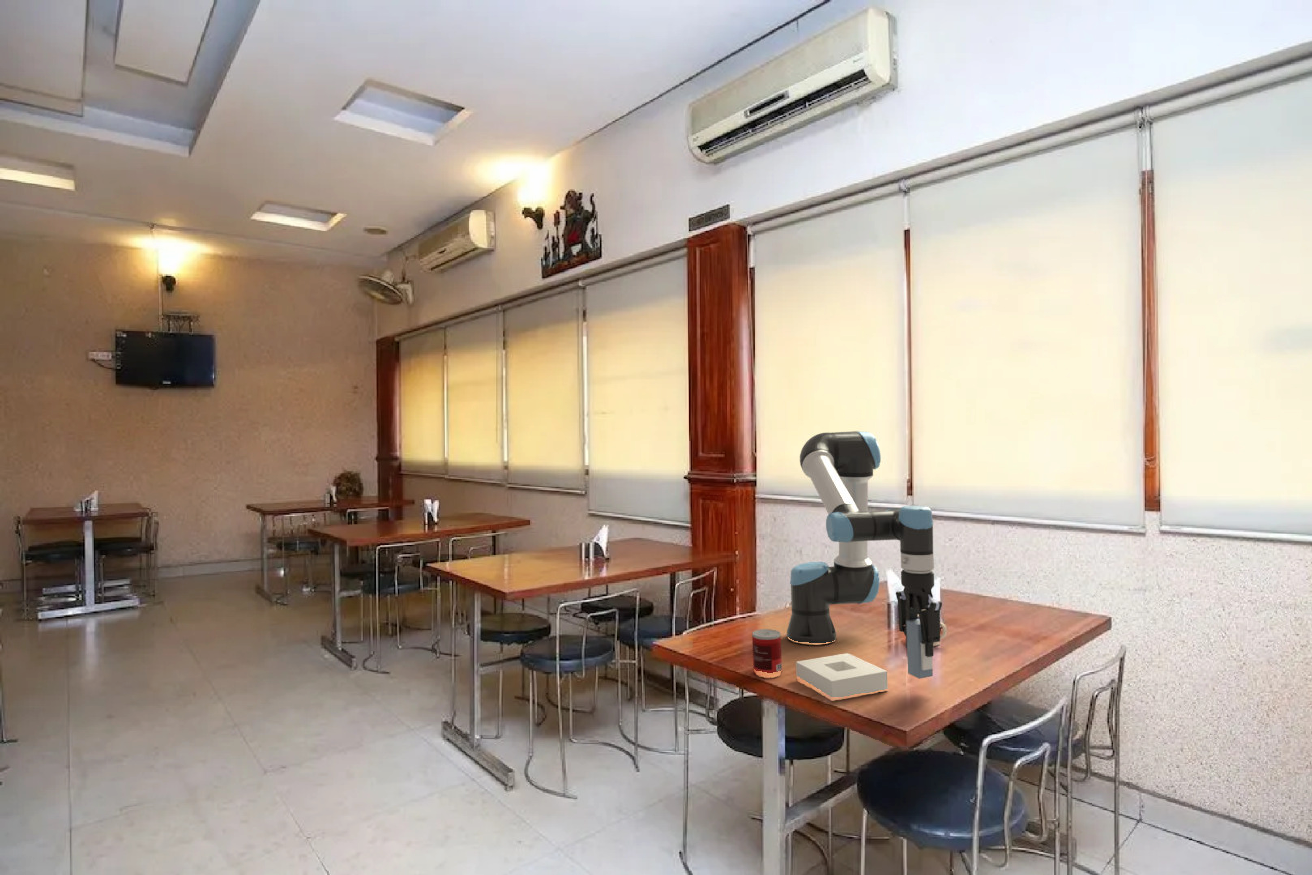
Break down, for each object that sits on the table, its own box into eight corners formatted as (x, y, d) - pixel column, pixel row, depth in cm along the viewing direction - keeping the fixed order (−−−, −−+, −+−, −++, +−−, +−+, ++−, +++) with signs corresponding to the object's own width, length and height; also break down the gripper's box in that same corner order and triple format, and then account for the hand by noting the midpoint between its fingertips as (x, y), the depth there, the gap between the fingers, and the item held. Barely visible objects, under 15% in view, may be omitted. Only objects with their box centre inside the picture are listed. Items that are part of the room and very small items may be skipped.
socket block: (796, 680, 179) (796, 661, 179) (848, 671, 185) (847, 653, 185) (832, 701, 164) (832, 681, 164) (887, 691, 170) (887, 671, 170)
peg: (907, 673, 169) (906, 620, 169) (921, 670, 170) (919, 618, 170) (919, 678, 165) (917, 624, 165) (932, 676, 167) (931, 622, 166)
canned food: (778, 668, 190) (777, 628, 190) (785, 678, 182) (783, 636, 182) (751, 669, 189) (749, 629, 189) (756, 679, 181) (754, 637, 181)
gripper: (881, 565, 174) (884, 657, 174) (930, 578, 158) (933, 679, 158) (905, 562, 177) (908, 653, 177) (955, 575, 161) (958, 674, 161)
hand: (919, 665), depth 168 cm, fingers closed on peg, 4 cm apart
